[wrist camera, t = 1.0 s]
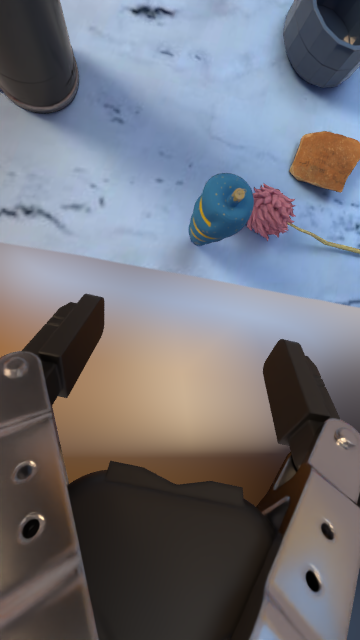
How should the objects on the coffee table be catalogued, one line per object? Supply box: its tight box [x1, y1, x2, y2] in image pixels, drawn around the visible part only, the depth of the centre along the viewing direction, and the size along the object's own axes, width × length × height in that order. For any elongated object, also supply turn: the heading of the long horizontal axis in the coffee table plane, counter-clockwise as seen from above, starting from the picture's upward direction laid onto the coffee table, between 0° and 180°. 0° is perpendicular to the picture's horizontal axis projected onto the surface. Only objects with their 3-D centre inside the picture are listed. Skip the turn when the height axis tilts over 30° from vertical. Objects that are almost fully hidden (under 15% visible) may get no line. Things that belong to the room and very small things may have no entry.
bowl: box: [283, 0, 360, 88], centre depth 32 cm, size 12×12×6 cm
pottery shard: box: [290, 131, 360, 192], centre depth 35 cm, size 10×9×2 cm
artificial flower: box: [247, 183, 360, 254], centre depth 35 cm, size 7×7×25 cm
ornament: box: [189, 173, 254, 246], centre depth 26 cm, size 5×5×15 cm
